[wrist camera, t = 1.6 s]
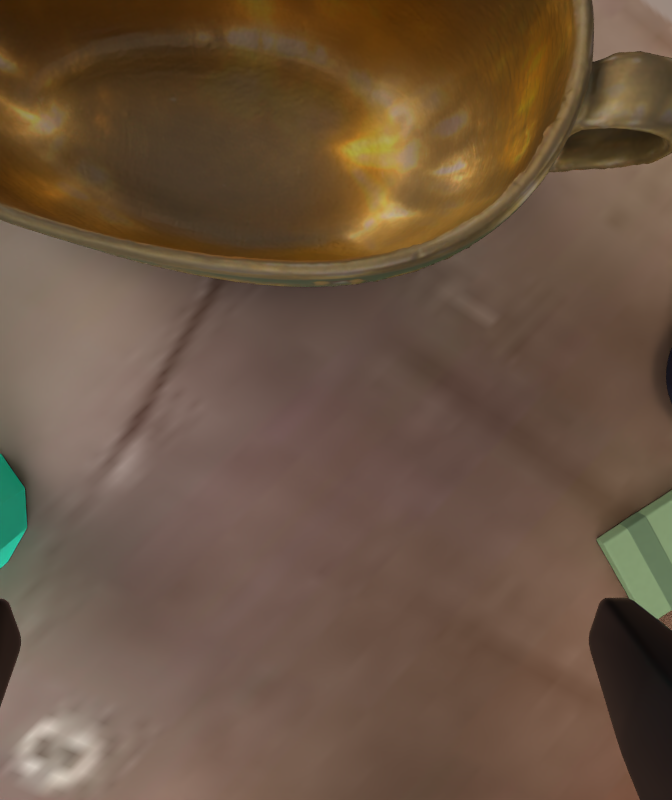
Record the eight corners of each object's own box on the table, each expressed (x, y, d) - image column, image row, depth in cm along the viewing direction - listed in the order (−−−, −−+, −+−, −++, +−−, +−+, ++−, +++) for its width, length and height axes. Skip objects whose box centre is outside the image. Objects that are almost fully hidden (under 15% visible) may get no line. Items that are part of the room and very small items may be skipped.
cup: (369, 448, 23) (445, 542, 13) (-102, 142, 20) (-487, -46, 10) (552, 176, 22) (779, 55, 12) (98, -185, 19) (-93, -747, 9)
